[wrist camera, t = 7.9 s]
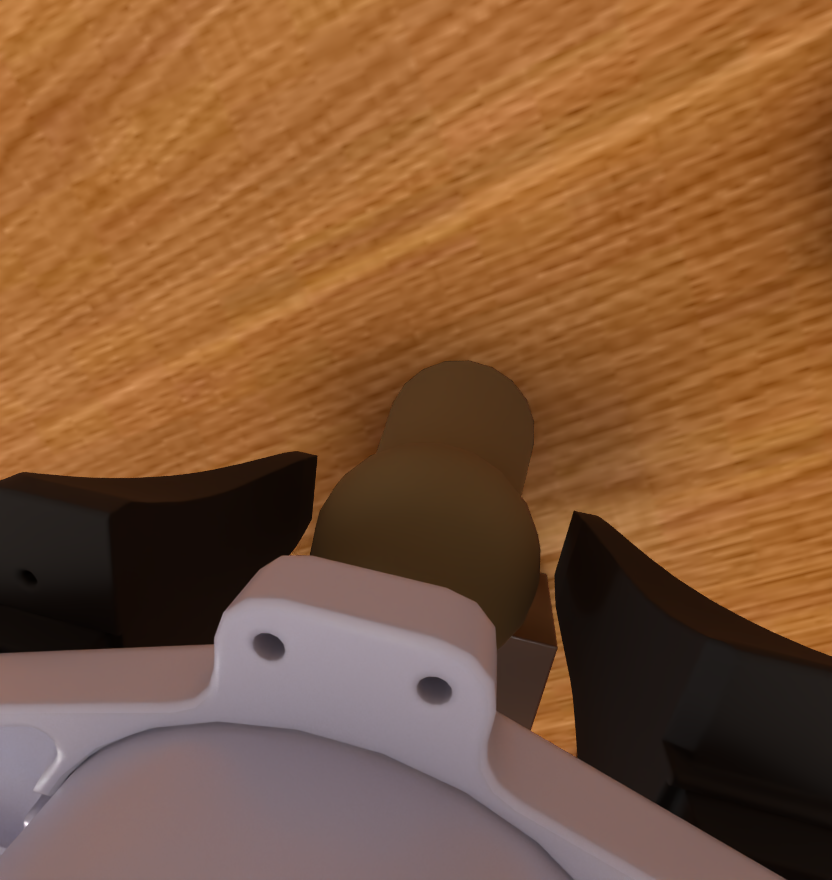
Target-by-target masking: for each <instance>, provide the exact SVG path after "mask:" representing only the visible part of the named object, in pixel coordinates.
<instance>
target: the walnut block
mask: <svg viewBox="0 0 832 880" xmlns="http://www.w3.org/2000/svg"><path fill="white" fill-rule="evenodd" d="M557 648H558V647H557V640H556V633H555V626H554V619H553V613H552V606H551V599H550V592H549V585H548V579H547V575H545V574H541V573H540V582H539V585H538V588H537V591H536V595H535V597H534V600H533V602H532V604H531V607H530V609H529V611H528V614H527V616H526V619H525V621H524V623H523V625H522V626H521V627H520V628H519V629H518V630H517V631H516V632H515V633H514V634H513V635H512V636H511V637H510V638H509V639H508V640H507V642H506V643H505V644H504V645H503V646H502V647H500V648H499V649H498V650H497V692H496V711H497V712H499V713H501V714H502V715H504V716H506V717H507V718H509V719H511V720H513V721H514V722H516V723H518V724H520V725H521V726H523V727H525V728H526V729H528V730H530V731H531V728H532V725H533V722H534V719H535V716H536V713H537V710H538V707H539V704H540V700H541V697H542V694H543V691H544V688H545V685H546V682H547V679H548V676H549V673H550V670H551V667H552V664H553V661H554V658H555V654H556V651H557Z"/></svg>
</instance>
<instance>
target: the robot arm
mask: <svg viewBox="0 0 832 880" xmlns="http://www.w3.org/2000/svg"><path fill="white" fill-rule="evenodd" d="M316 467H317V455H312V454H307V453H303V452H298V451H295V452H287V453H282V454H278V455H274V456H270V457H266V458H262V459H258V460H254V461H250V462H246V463H242V464H238V465H233V466H228V467H224V468H219V469H215V470H210V471H204V472H198V473H190V474H183V475H174V476H161V477H143V478H88V477H72V476H60V475H49V474H37V473H28V472H22V473H18V474H16V475H13V476H11V477H8V478H6V479H3V480H1V481H0V880H832V656H829V655H826V654H824V653H821V652H818V651H816V650H813V649H810V648H808V647H806V646H803V645H801V644H799V643H796V642H794V641H792V640H789V639H787V638H785V637H783V636H780V635H778V634H776V633H774V632H771V631H769V630H767V629H765V628H763V627H761V626H759V625H757V624H755V623H753V622H751V621H749V620H747V619H745V618H743V617H741V616H739V615H737V614H735V613H733V612H732V611H730V610H728V609H726V608H724V607H722V606H720V605H719V604H717V603H715V602H713V601H712V600H710V599H708V598H707V597H705V596H704V595H702V594H700V593H699V592H697V591H696V590H694V589H692V588H691V587H689V586H688V585H686V584H685V583H683V582H682V581H680V580H679V579H677V578H676V577H674V576H673V575H672V574H670V573H669V572H668V571H666V570H665V569H664V568H662V567H661V566H660V565H658V564H657V563H656V562H654V561H653V560H652V559H650V558H649V557H648V556H647V555H645V554H644V553H643V552H642V551H641V550H639V549H638V548H637V547H636V546H635V545H633V544H632V543H631V542H630V541H629V540H627V539H626V538H625V537H624V536H623V535H622V534H620V533H619V532H618V531H617V530H616V529H614V528H613V527H612V526H611V525H610V524H608V523H607V522H606V521H604V520H603V519H602V518H600V517H598V516H596V515H591V514H586V513H582V512H577V511H574V512H573V515H572V519H571V522H570V525H569V529H568V532H567V535H566V539H565V542H564V545H563V548H562V552H561V555H560V558H559V562H558V565H557V568H556V572H555V601H556V610H557V616H558V621H559V626H560V631H561V636H562V641H563V646H564V651H565V656H566V661H567V666H568V671H569V676H570V681H571V688H572V694H573V704H574V716H575V728H576V741H577V757H578V758H576V757H575V756H573V755H571V754H569V753H568V752H566V751H564V750H563V749H561V748H559V747H557V746H556V745H554V744H552V743H551V742H549V741H547V740H545V739H544V738H542V737H540V736H538V735H537V734H535V733H533V732H532V731H530V730H528V729H526V728H525V727H523V726H521V725H520V724H518V723H516V722H514V721H513V720H511V719H509V718H507V717H506V716H504V715H502V714H501V713H499V712H497V711H496V692H497V646H496V630H495V626H494V625H493V623H492V622H491V621H490V619H489V618H488V617H487V615H486V614H485V613H484V612H483V610H482V609H481V608H480V606H479V605H478V604H477V602H475V601H473V600H471V599H469V598H466V597H464V596H462V595H460V594H458V593H456V592H454V591H452V590H450V589H448V588H445V587H441V586H437V585H433V584H429V583H425V582H420V581H416V580H412V579H408V578H404V577H399V576H395V575H391V574H387V573H383V572H379V571H374V570H370V569H366V568H362V567H358V566H354V565H349V564H345V563H341V562H337V561H333V560H328V559H324V558H320V557H316V556H289V555H290V554H291V552H292V551H293V550H294V548H295V547H296V546H297V544H298V543H299V541H300V539H301V537H302V536H303V534H304V532H305V530H306V529H307V527H308V525H309V523H310V521H311V519H312V510H313V500H314V489H315V478H316Z"/></svg>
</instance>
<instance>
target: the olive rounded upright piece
mask: <svg viewBox="0 0 832 880" xmlns="http://www.w3.org/2000/svg"><path fill="white" fill-rule="evenodd" d="M533 445H534V420H533V417H532V414H531V411H530V408H529V405H528V402H527V400H526V398H525V397H524V396H523V394H522V393H521V392H520V390H519V389H518V388H517V386H516V385H515V384H514V383H513V381H512V380H510V379H509V378H507V377H506V376H504V375H503V374H501V373H500V372H498V371H497V370H495V369H494V368H492V367H489V366H486V365H482V364H479V363H475V362H472V361H445V362H442V363H440V364H437V365H434V366H431V367H429V368H426V369H423V370H422V371H420V372H419V373H418V374H417V375H415V376H414V377H413V378H412V379H410V380H409V381H408V382H407V383H405V385H404V386H403V388H402V389H401V391H400V392H399V394H398V396H397V397H396V399H395V400H394V402H393V404H392V407H391V410H390V413H389V416H388V419H387V422H386V425H385V428H384V431H383V434H382V437H381V440H380V443H379V446H378V449H377V452H376V454H374V455H371V456H369V457H368V458H367V459H365V460H364V461H363V462H361V463H360V464H359V465H357V466H356V467H355V468H353V469H352V470H351V471H349V472H348V473H347V474H345V475H344V477H343V478H342V479H341V480H340V481H339V482H338V484H337V485H336V486H335V488H334V489H333V491H332V493H331V494H330V496H329V497H328V499H327V500H326V502H325V504H324V505H323V507H322V508H321V510H320V512H319V516H318V520H317V524H316V528H315V533H314V538H313V543H312V548H311V552H310V556H316V557H320V558H324V559H328V560H333V561H337V562H341V563H345V564H349V565H354V566H358V567H362V568H366V569H370V570H374V571H379V572H383V573H387V574H391V575H395V576H399V577H404V578H408V579H412V580H416V581H420V582H425V583H429V584H433V585H437V586H441V587H445V588H448V589H450V590H452V591H454V592H456V593H458V594H460V595H462V596H464V597H466V598H469V599H471V600H473V601H475V602H477V604H478V605H479V606H480V608H481V609H482V610H483V612H484V613H485V614H486V615H487V617H488V618H489V619H490V621H491V622H492V623H493V625H494V626H495V630H496V646H497V650H498V649H499V648H500V647H502V646H503V645H504V644H505V643H506V642H507V640H508V639H509V638H510V637H511V636H512V635H513V634H514V633H515V632H516V631H517V630H518V629H519V628H520V627H521V626H522V625H523V623H524V621H525V619H526V616H527V614H528V611H529V609H530V607H531V604H532V602H533V600H534V597H535V595H536V591H537V588H538V585H539V582H540V544H539V538H538V534H537V531H536V528H535V525H534V522H533V520H532V517H531V514H530V511H529V508H528V505H527V503H526V502H525V501H524V500H523V498H522V497H521V495H522V491H523V487H524V483H525V478H526V474H527V470H528V466H529V461H530V457H531V453H532V449H533Z"/></svg>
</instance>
